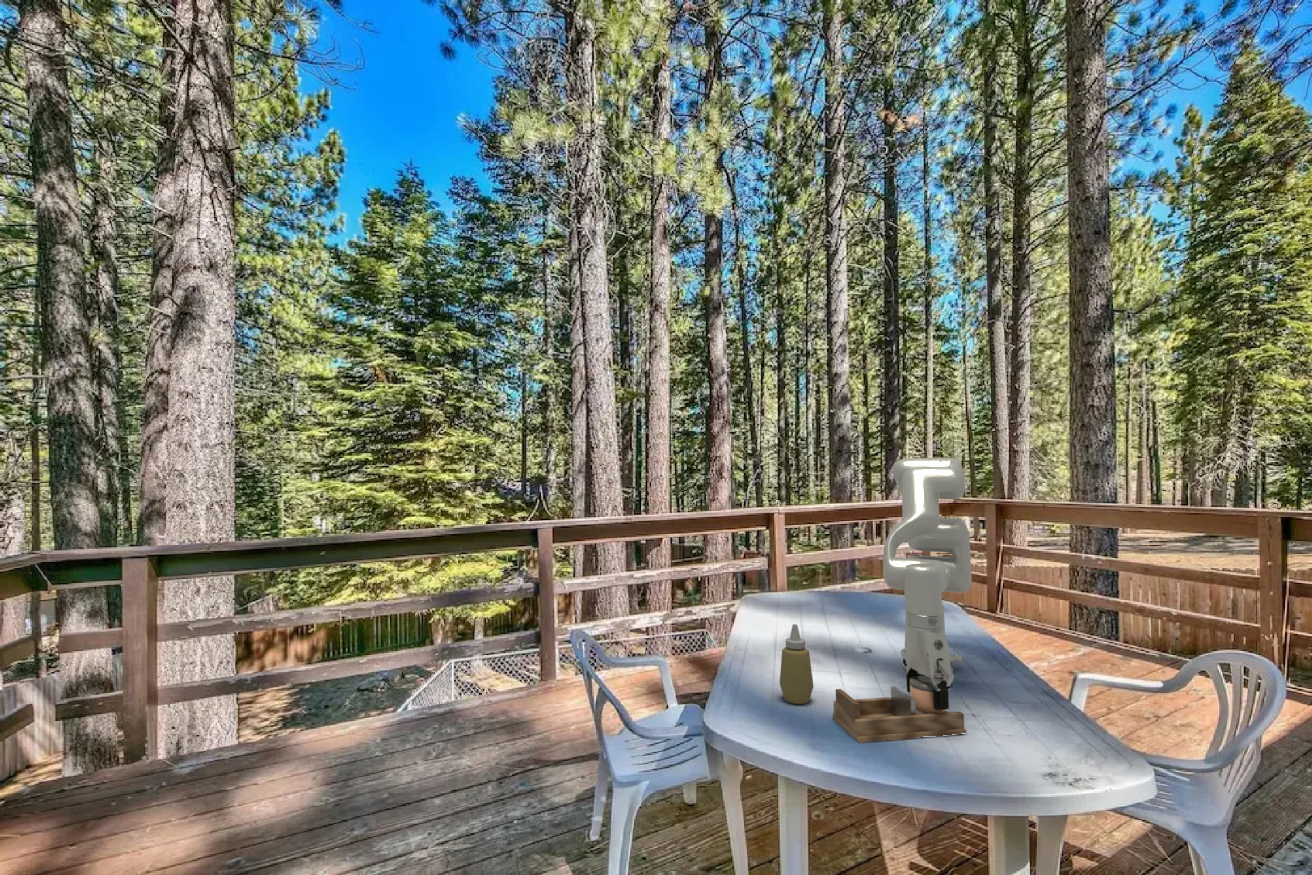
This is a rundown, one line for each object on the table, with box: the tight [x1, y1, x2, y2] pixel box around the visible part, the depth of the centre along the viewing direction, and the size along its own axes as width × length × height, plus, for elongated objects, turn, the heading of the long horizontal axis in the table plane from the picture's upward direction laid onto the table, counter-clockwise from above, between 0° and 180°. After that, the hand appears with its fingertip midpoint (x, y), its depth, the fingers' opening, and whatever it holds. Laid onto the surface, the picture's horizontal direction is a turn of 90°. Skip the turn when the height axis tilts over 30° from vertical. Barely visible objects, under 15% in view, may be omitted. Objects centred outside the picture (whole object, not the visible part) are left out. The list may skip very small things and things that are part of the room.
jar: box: [909, 675, 946, 714], centre depth 123 cm, size 7×7×8 cm
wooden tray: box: [832, 688, 967, 744], centre depth 121 cm, size 24×12×7 cm, turn 98°
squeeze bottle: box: [779, 623, 814, 705], centre depth 136 cm, size 8×8×18 cm
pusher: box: [890, 685, 924, 716], centre depth 122 cm, size 3×8×6 cm, turn 8°
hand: (927, 700), depth 122 cm, fingers open, 9 cm apart
